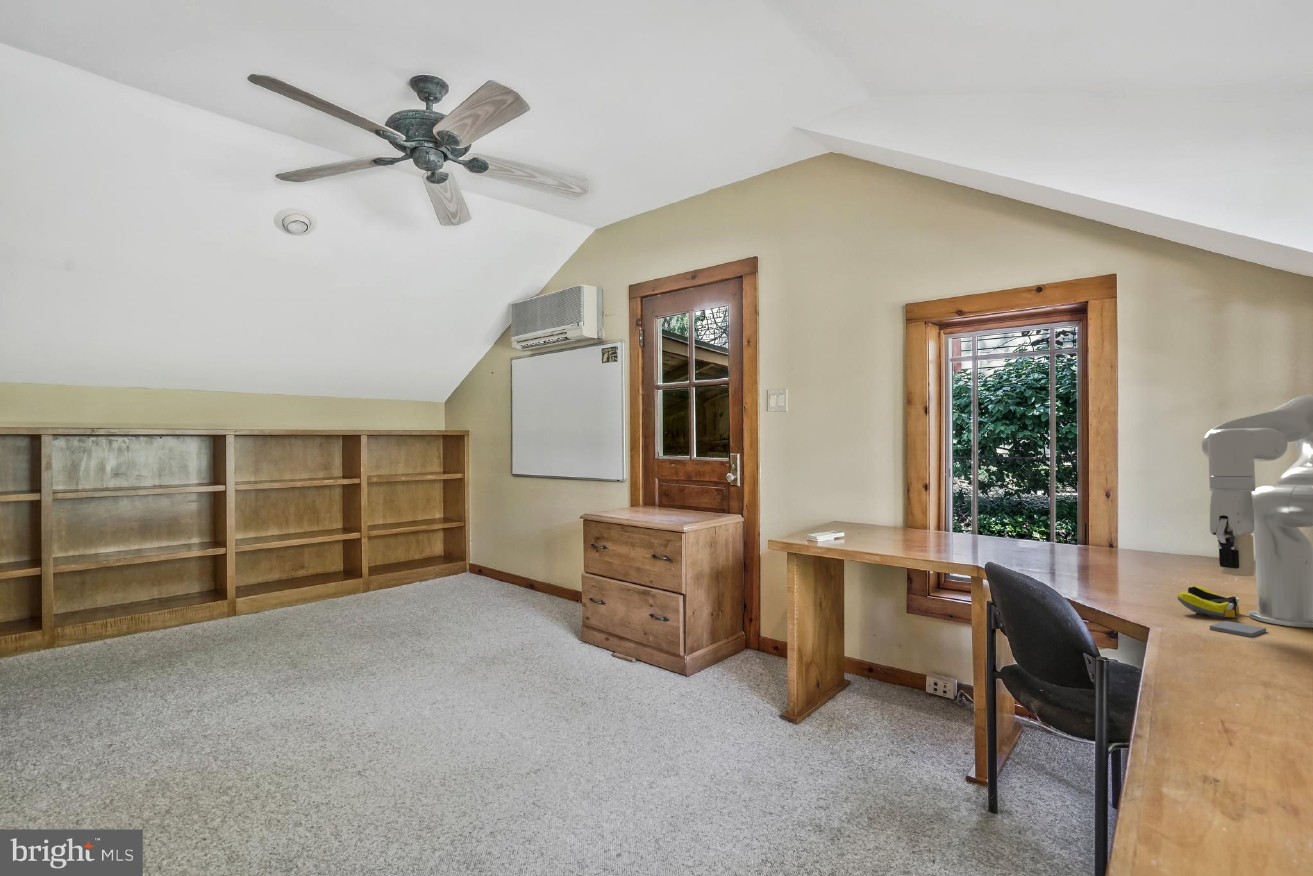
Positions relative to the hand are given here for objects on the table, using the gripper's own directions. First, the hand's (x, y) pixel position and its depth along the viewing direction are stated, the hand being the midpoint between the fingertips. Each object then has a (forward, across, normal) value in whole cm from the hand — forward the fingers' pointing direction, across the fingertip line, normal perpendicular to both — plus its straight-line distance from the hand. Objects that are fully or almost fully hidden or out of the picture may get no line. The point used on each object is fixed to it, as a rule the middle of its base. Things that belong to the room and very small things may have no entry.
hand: (1235, 565), depth 138 cm
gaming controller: (+15, -14, -10) cm, 22 cm away
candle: (+2, 0, 0) cm, 2 cm away
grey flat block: (+14, 0, 0) cm, 14 cm away
